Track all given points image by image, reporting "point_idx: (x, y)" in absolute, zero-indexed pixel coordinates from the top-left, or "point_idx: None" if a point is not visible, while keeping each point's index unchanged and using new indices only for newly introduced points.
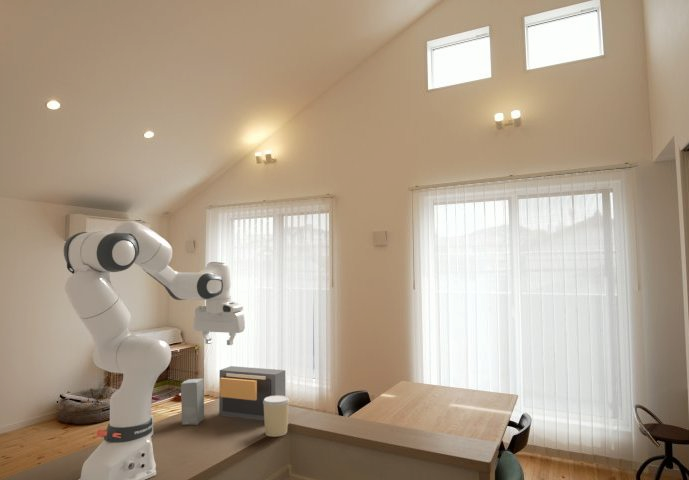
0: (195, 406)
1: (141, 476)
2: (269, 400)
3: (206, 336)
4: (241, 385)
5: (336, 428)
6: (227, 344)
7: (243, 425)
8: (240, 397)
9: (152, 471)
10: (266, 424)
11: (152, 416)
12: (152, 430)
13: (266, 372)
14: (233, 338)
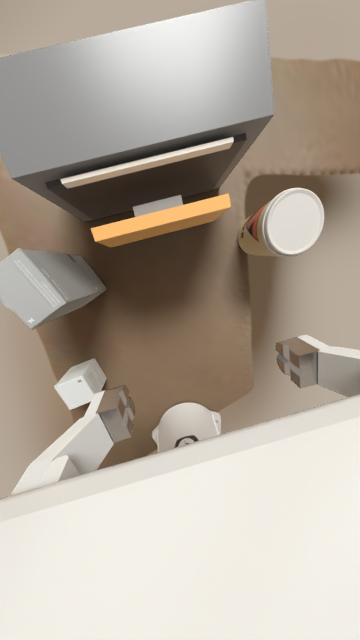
0: (91, 296)
1: (218, 429)
2: (287, 242)
3: (92, 457)
4: (179, 223)
5: (342, 149)
6: (284, 368)
7: (179, 240)
8: (173, 230)
9: (218, 419)
10: (258, 255)
11: (84, 377)
12: (93, 364)
13: (219, 99)
14: (348, 354)
